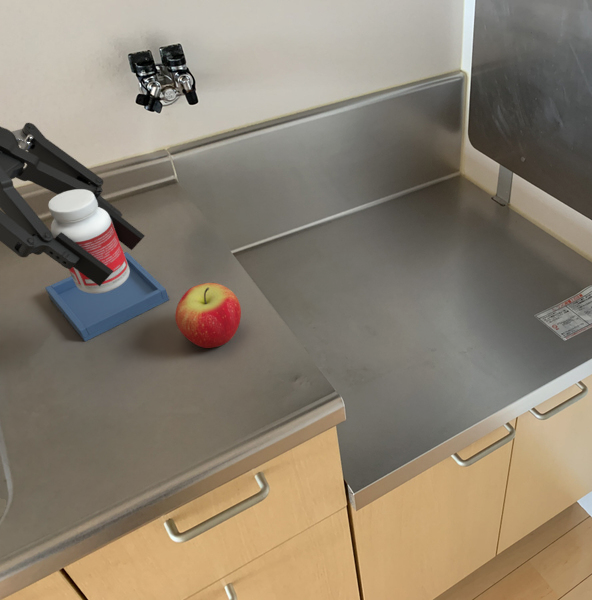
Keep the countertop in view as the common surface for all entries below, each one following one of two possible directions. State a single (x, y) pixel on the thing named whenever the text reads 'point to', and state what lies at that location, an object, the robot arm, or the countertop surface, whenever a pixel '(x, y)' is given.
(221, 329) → the apple
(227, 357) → the countertop surface
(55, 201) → the pill bottle
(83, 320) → the medicine tray
